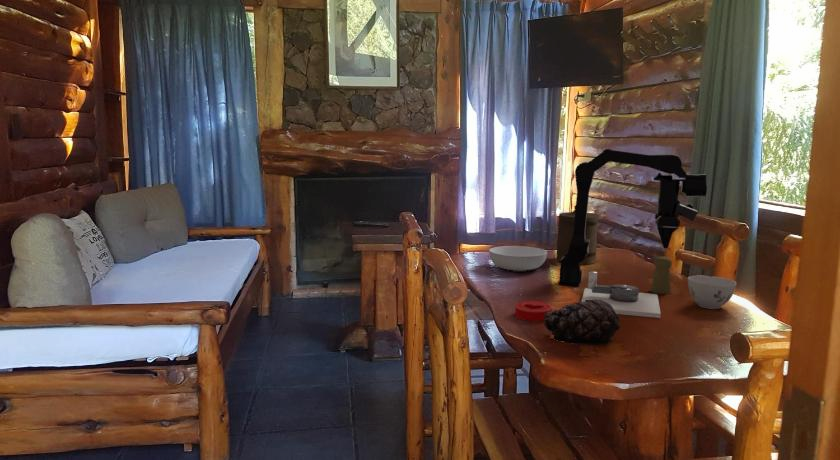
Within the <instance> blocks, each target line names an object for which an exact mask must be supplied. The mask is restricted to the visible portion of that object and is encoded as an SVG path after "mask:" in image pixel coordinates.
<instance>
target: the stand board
mask: <svg viewBox="0 0 840 460" xmlns="http://www.w3.org/2000/svg"><path fill="white" fill-rule="evenodd" d="M609 296H610V294H602V293H592V289H588V287H585V288H584V291H583V294H582V296H581V297H582V298H581V301H580V302H585V300H594V299H595V300H602V301H605V302H607V303H609V304H610V305H611V306H612V307H613V309H614V311H615V312H616V314H617V315H624V316H633V317H634V316H636V317H645V318H658V319H661V309H660V303H659V296H658V293H648V292H647V293H646V292H639V297H638V300H637V301H633V302H623V301H617V300H613V299H611V298H610V297H609Z"/></svg>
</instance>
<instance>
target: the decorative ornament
mask: <svg viewBox="0 0 840 460" xmlns="http://www.w3.org/2000/svg"><path fill="white" fill-rule="evenodd" d="M552 308H553V307H552V306H551V305H550V304H549V303H545V302H542V301H535V300H525V301H521V302H518V303H516V304H515V309H514V310H515V312H514V313H515V314H514V315H516V316H517V317H518V318H517V317H516V316H515V317H516V318H517V319H519V318H521V319H524V320H523V321H525V320H529V321H528V322H533V321H541V322H543V321H542V320H543V319H544V318H545V317H546V316H545V314H546V313H548V312H550V313H552V312H553V311H552ZM521 319H520V320H521Z"/></svg>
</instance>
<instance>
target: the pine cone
mask: <svg viewBox="0 0 840 460" xmlns="http://www.w3.org/2000/svg"><path fill="white" fill-rule="evenodd" d="M545 316H546V317H545V318H544V319H543V320H542V321H541V322H542V323H543V325H544V327H545V328H546V329H547V330H548V331H549V332H551V335H554V338H553V339H555V340H558V341H564V342H565V343H564V344H568V343H574V344H573V345H591V346H592V345H594V346H595V345H596V346H598V345H599V346H600V345H601V346H602V345H603V346H604V345H605V346H606V345H610V344H611V343H613V338H612V337H614V336H615V333H616V332H617V331H619V330H620V328H621V325H620V316H619V314H616V312H615V311H614V309H613V307H612V306H611V305H610V304H609V303H607V302H605V301H602V300H595V299H594V300H585V302H581V301H579V302H574V303H571V304H565V306H562V307H561V308H560V309H558V308H557V309H554V310H553V311H552V313H550V312H548V313H546V314H545ZM558 341H557V342H558Z"/></svg>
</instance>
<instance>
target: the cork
mask: <svg viewBox="0 0 840 460" xmlns="http://www.w3.org/2000/svg"><path fill="white" fill-rule="evenodd" d="M672 264H673V261H672V258H670V257H667V256H657V257H655V258H654V260H653V265H654V267H655V269H654V273H653V277H652V282H651V286H650V292H652V293H653V294H659V295H661V294H662V295H669V294H671V293H672V287H671V273H670V272H671V269H670V268H671V267H672Z"/></svg>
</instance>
